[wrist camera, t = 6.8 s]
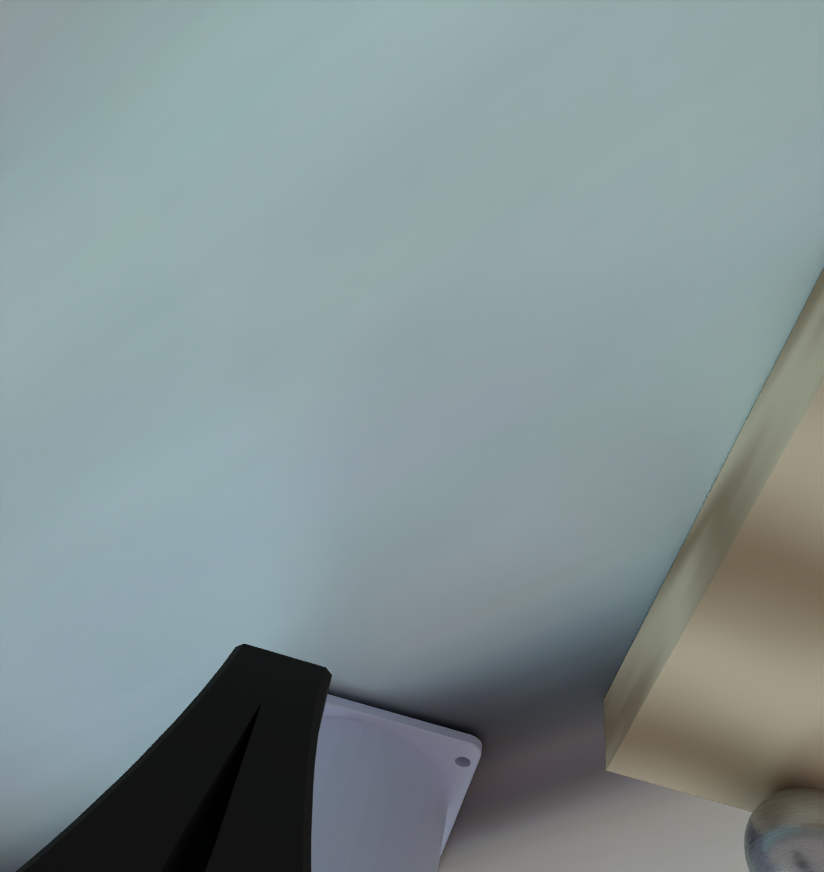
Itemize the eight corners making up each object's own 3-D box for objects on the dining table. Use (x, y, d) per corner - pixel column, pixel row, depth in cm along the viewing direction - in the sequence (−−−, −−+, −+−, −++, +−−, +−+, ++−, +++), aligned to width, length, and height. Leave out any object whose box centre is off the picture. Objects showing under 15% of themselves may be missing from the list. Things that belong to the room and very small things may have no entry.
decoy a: (827, 847, 22) (862, 970, 19) (716, 815, 22) (735, 934, 19) (885, 781, 20) (933, 907, 18) (764, 748, 20) (793, 867, 18)
